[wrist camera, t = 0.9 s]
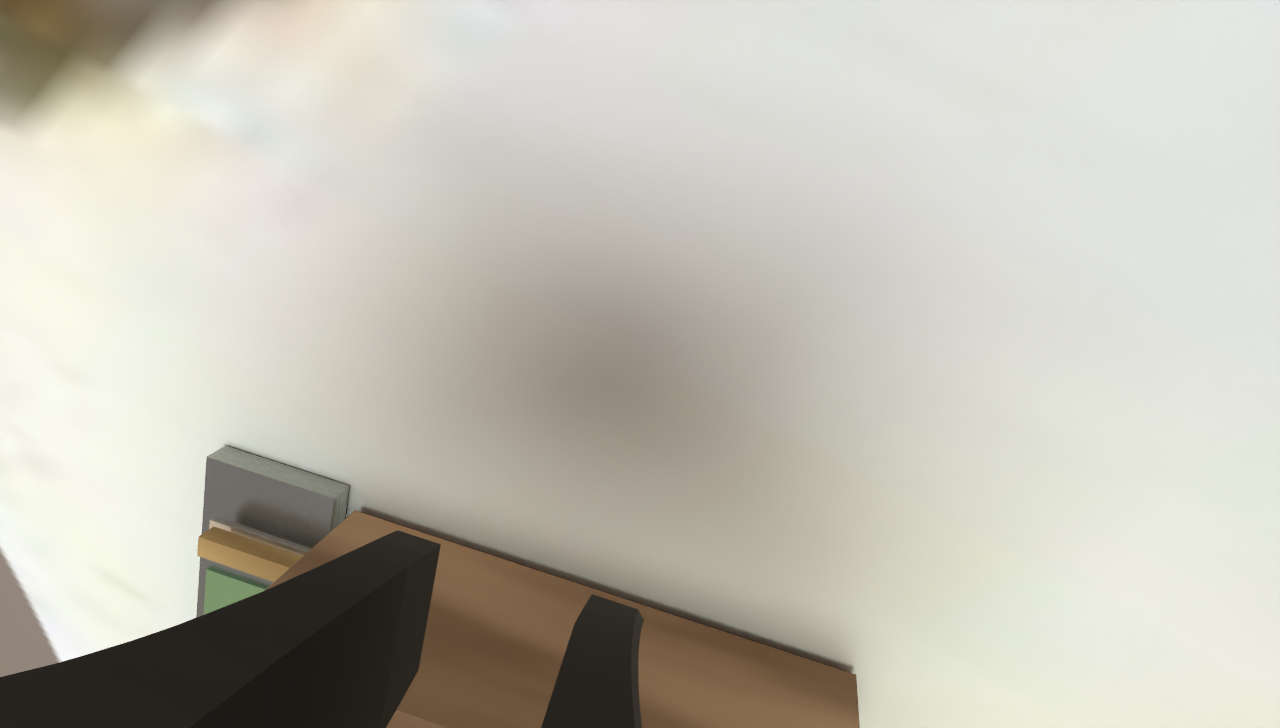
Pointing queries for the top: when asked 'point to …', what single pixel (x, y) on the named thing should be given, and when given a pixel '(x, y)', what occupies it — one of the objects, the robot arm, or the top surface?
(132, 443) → the top surface
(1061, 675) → the top surface
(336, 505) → the gauge frame
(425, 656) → the brown wooden block
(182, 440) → the top surface
